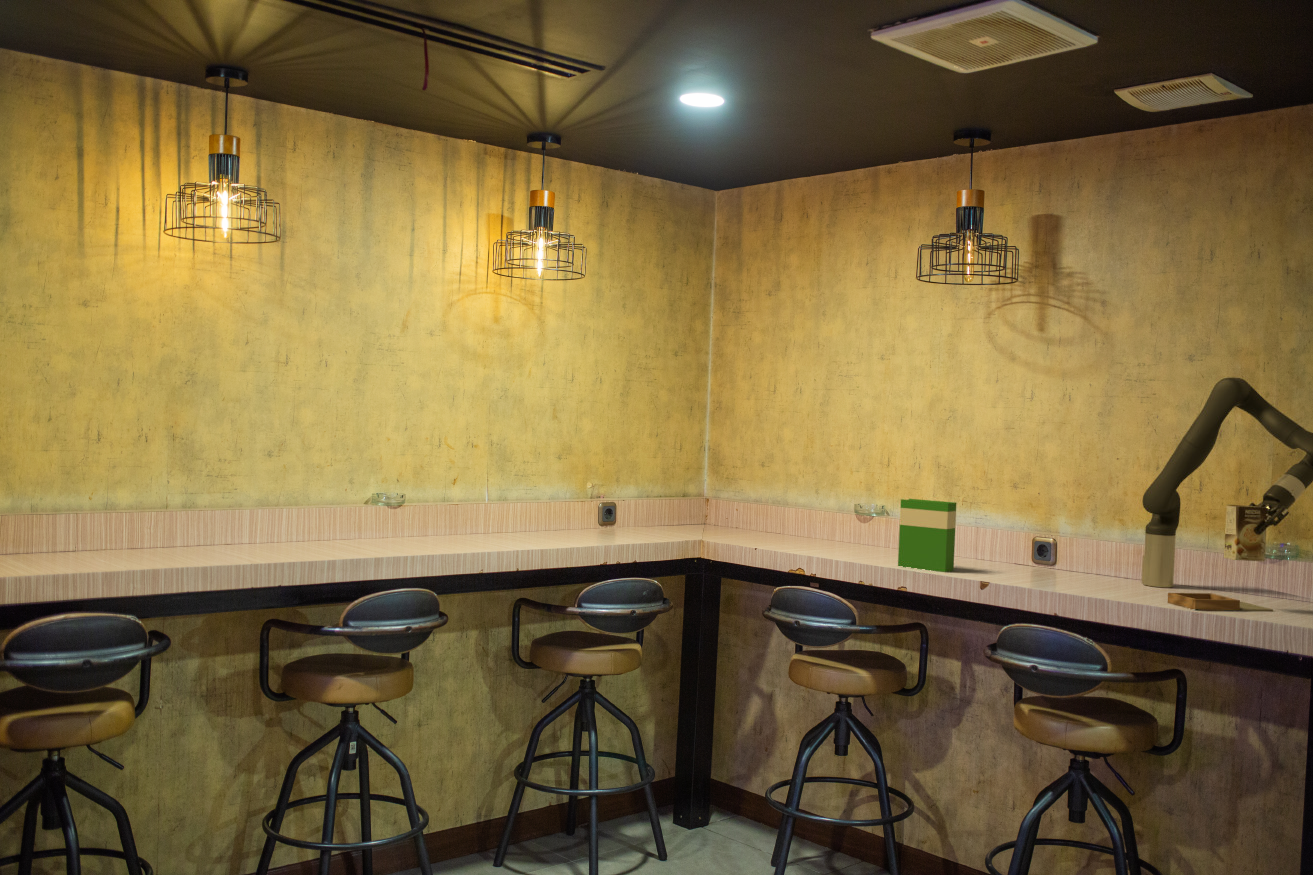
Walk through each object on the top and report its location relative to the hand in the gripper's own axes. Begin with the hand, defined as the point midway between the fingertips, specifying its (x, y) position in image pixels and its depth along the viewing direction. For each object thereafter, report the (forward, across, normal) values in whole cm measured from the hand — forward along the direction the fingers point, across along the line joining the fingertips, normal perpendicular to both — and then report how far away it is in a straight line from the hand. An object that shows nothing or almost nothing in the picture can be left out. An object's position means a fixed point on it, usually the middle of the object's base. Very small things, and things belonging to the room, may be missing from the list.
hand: (1247, 531), depth 319 cm
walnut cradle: (+26, 0, +6) cm, 26 cm away
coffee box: (+6, 0, +6) cm, 9 cm away
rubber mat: (+16, 0, +16) cm, 23 cm away
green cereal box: (+64, -73, -33) cm, 103 cm away
